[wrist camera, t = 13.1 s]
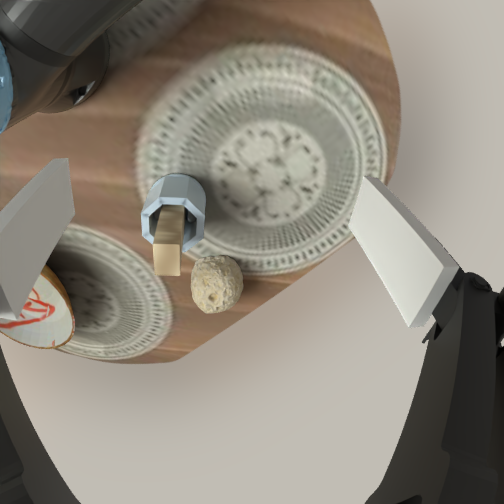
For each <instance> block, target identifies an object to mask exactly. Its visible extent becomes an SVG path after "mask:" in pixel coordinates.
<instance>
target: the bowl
mask: <svg viewBox="0 0 504 504" xmlns="http://www.w3.org/2000/svg"><path fill="white" fill-rule="evenodd" d="M74 331H75V318H74V313H73V310H72V306H71V302H70V299H69V297H68V295H67V293H66V290H65V288H64V286H63V285H62V283H61V282H60V280H59V279H58V277H57V276H56V275H55V273H54V272H53V271H52V270H51V269H50V268H49V267H48V266H47V265H46V264H45V265H44V267H43V269H42V271H41V273H40V275H39V277H38V278H37V280H36V282H35V284H34V286H33V288H32V290H31V292H30V294H29V296H28V298H27V300H26V302H25V304H24V307H23V309H22V311H21V313H20V315H19V317H18V320H11V319H4V318H0V332H1V333H2V334H4V335H6V336H7V337H9V338H10V339H12V340H14V341H17V342H19V343H21V344H24V345H27V346H30V347H34V348H39V349H40V348H41V349H52V348H58V347H60V346H63V345H65V344H66V343H67V342H69V341H70V339H71V338H72V336H73V334H74Z"/></svg>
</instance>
